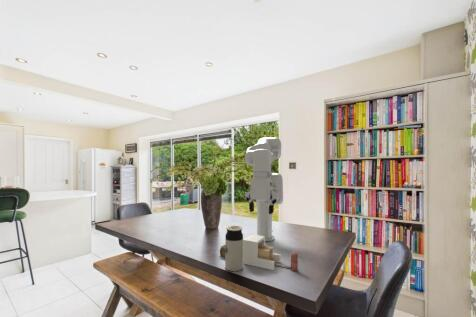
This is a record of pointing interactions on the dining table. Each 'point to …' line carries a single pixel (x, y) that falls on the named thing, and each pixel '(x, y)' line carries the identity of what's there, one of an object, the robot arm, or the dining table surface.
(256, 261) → the white l-shaped block
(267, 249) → the oak block with cord
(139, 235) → the dining table surface
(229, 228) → the travel mug
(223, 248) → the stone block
